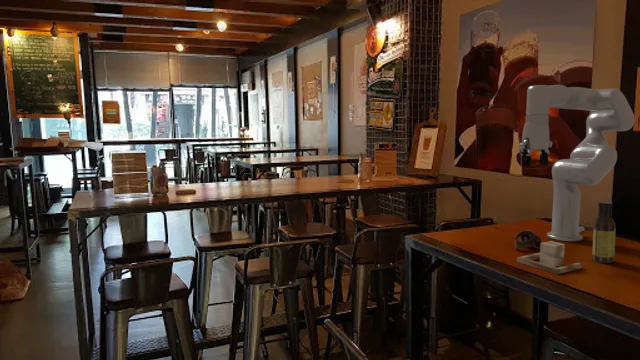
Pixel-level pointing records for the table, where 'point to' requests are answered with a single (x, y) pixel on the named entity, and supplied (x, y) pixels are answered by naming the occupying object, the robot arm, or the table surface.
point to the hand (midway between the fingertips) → (535, 165)
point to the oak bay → (559, 270)
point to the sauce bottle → (604, 234)
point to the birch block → (552, 253)
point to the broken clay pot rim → (527, 239)
